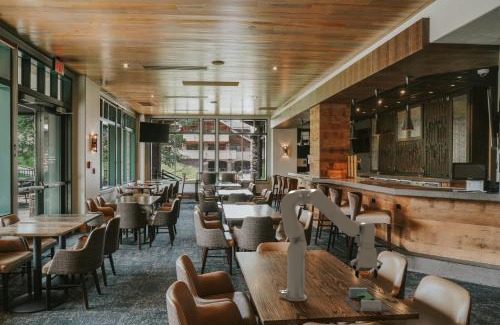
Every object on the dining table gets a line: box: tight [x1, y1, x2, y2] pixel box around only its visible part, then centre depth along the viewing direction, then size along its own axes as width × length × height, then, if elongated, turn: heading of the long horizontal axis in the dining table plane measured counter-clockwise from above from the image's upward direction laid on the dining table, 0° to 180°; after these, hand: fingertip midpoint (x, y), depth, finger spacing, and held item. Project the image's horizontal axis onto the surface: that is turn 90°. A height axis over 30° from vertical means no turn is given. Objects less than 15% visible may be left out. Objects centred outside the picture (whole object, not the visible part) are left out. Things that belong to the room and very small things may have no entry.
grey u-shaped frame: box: [344, 296, 389, 312], centre depth 221 cm, size 17×20×5 cm
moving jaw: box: [348, 287, 369, 299], centre depth 233 cm, size 10×2×5 cm, turn 93°
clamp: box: [357, 292, 374, 305], centre depth 219 cm, size 12×6×9 cm, turn 177°
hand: (366, 277), depth 220 cm, fingers open, 9 cm apart
